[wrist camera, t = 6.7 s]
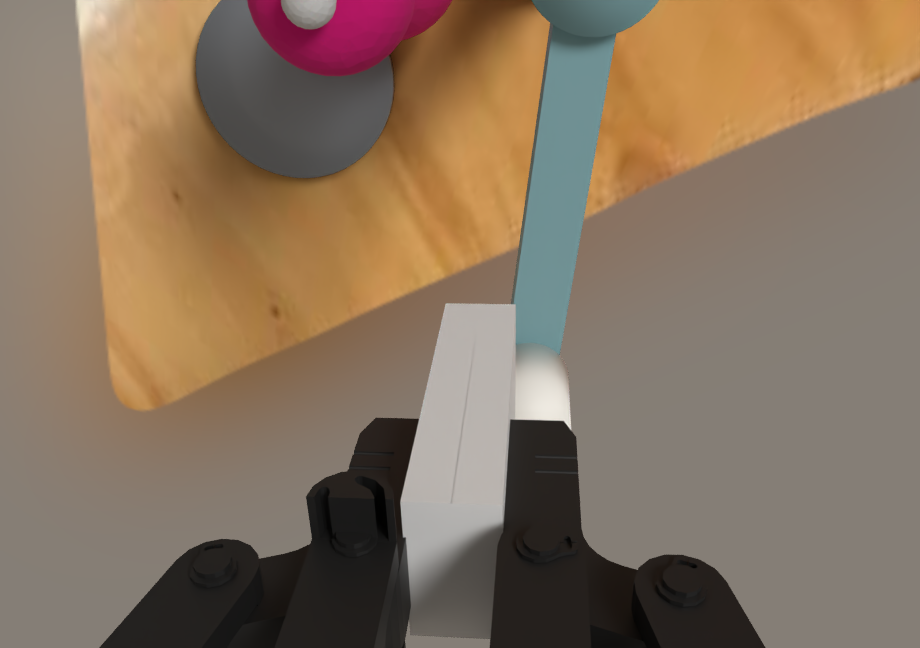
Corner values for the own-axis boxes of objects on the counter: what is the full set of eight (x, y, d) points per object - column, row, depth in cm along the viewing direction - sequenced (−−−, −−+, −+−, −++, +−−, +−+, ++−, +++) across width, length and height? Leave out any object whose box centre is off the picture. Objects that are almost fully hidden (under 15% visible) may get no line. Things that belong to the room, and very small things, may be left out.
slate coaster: (173, -4, 46) (167, -3, 46) (367, -47, 44) (364, -46, 44) (236, 188, 51) (232, 192, 50) (414, 156, 49) (412, 160, 48)
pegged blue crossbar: (533, -133, 23) (530, -138, 17) (669, -118, 22) (707, -118, 17) (474, 355, 30) (459, 458, 24) (577, 368, 29) (585, 475, 24)
